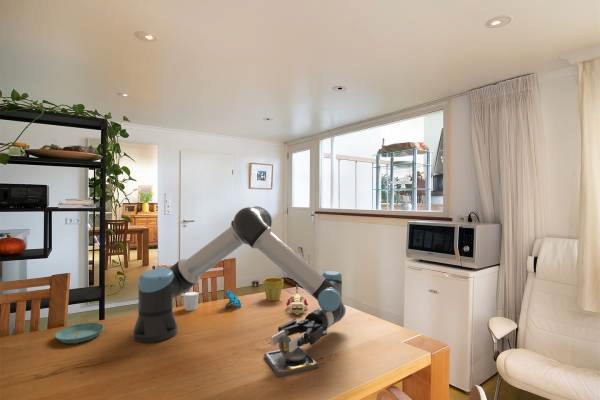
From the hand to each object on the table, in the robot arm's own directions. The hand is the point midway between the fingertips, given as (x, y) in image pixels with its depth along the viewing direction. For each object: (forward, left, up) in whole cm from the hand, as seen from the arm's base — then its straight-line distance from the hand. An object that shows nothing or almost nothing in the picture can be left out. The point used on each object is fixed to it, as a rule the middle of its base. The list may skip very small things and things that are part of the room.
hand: (280, 344), depth 97 cm
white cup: (-19, +66, -8) cm, 69 cm away
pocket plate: (+4, +3, -7) cm, 9 cm away
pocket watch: (+5, +2, -6) cm, 8 cm away
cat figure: (+27, +50, -8) cm, 57 cm away
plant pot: (+21, +66, -8) cm, 70 cm away
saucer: (-59, +49, -8) cm, 77 cm away
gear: (0, +62, -8) cm, 62 cm away
